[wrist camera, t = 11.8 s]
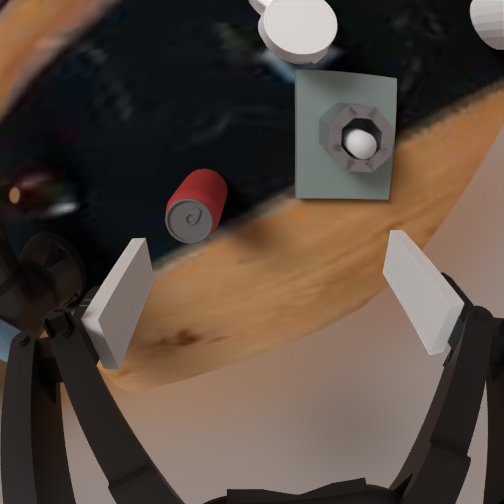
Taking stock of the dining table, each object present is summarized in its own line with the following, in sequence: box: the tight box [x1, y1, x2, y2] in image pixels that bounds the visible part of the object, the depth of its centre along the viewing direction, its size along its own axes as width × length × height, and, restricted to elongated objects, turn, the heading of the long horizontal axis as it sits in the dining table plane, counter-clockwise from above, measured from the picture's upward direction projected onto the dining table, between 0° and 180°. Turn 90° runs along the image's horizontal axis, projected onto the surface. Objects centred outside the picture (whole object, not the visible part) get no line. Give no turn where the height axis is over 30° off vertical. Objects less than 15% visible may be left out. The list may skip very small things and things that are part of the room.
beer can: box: [165, 169, 227, 244], centre depth 40 cm, size 7×7×12 cm
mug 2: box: [249, 0, 337, 65], centre depth 30 cm, size 12×9×8 cm
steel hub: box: [319, 102, 394, 172], centre depth 36 cm, size 8×8×6 cm
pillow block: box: [295, 69, 397, 200], centre depth 37 cm, size 14×18×9 cm
